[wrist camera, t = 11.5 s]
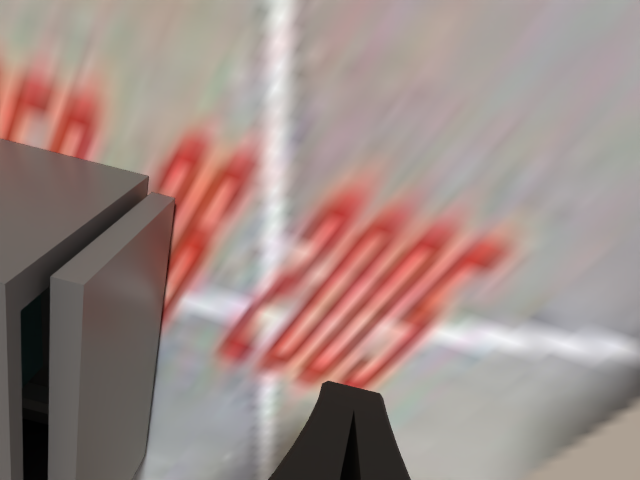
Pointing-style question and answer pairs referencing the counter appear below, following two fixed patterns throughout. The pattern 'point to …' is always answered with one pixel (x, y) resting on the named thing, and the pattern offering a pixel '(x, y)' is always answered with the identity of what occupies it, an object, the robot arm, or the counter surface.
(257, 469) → the counter surface
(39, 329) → the block
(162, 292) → the tray
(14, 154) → the dark grey cuboid box
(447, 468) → the counter surface
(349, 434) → the robot arm
